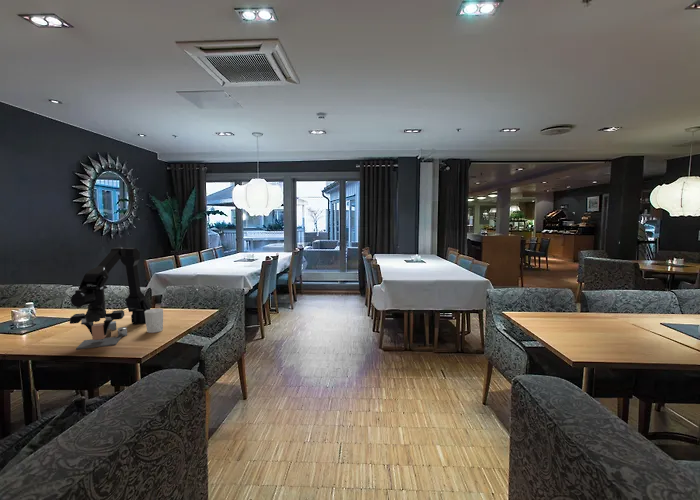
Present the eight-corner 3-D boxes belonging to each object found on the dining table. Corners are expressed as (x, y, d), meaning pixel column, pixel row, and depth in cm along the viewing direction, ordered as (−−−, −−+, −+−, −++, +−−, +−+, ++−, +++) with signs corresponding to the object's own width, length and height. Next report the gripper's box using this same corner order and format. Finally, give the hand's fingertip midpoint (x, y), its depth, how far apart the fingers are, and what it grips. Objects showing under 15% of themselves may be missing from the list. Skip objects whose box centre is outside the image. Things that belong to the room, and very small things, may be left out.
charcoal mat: (121, 337, 160) (121, 336, 160) (115, 345, 151) (115, 343, 151) (84, 341, 155) (84, 340, 155) (76, 349, 146) (76, 348, 145)
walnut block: (111, 336, 162) (111, 328, 162) (106, 338, 158) (105, 331, 158) (104, 336, 162) (103, 328, 161) (98, 338, 158) (98, 331, 158)
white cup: (167, 329, 172) (166, 309, 171) (154, 334, 164) (153, 313, 163) (155, 327, 174) (154, 307, 173) (141, 332, 167) (140, 312, 166)
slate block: (116, 327, 174) (115, 320, 173) (116, 329, 171) (116, 322, 170) (107, 329, 172) (107, 322, 171) (107, 331, 169) (107, 324, 168)
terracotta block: (106, 335, 155) (105, 322, 154) (103, 338, 151) (102, 325, 151) (95, 337, 154) (94, 323, 153) (92, 340, 150) (91, 326, 149)
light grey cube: (126, 333, 165) (126, 326, 164) (127, 335, 162) (127, 328, 162) (117, 335, 162) (117, 328, 162) (118, 337, 160) (118, 330, 159)
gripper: (62, 307, 140) (66, 345, 142) (117, 303, 147) (119, 339, 148) (73, 301, 150) (76, 336, 152) (123, 297, 157) (125, 330, 159)
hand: (99, 335), depth 152 cm, fingers closed on terracotta block, 4 cm apart
